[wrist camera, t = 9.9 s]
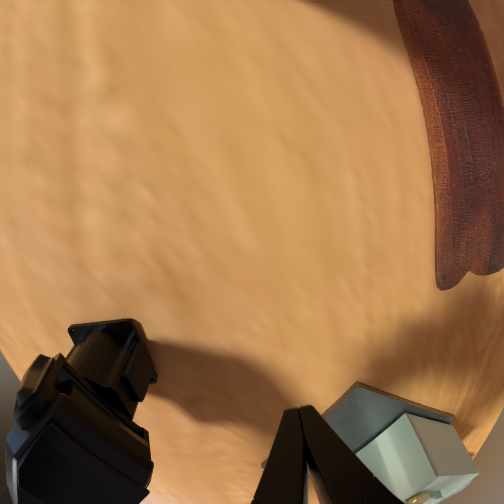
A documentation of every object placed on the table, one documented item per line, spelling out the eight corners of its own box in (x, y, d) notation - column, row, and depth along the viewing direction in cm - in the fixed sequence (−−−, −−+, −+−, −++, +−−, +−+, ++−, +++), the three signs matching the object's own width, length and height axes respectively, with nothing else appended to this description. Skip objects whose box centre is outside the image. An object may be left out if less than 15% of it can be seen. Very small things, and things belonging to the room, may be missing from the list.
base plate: (261, 463, 29) (266, 542, 19) (356, 381, 25) (395, 478, 15) (372, 479, 34) (389, 535, 23) (453, 415, 29) (487, 473, 19)
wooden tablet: (503, 263, 22) (513, 269, 21) (428, 291, 23) (437, 300, 21) (464, -12, 13) (474, -17, 12) (372, -30, 14) (380, -39, 12)
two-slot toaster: (322, 476, 30) (334, 534, 22) (405, 412, 26) (436, 476, 18) (380, 481, 32) (395, 527, 24) (452, 425, 29) (479, 473, 20)
